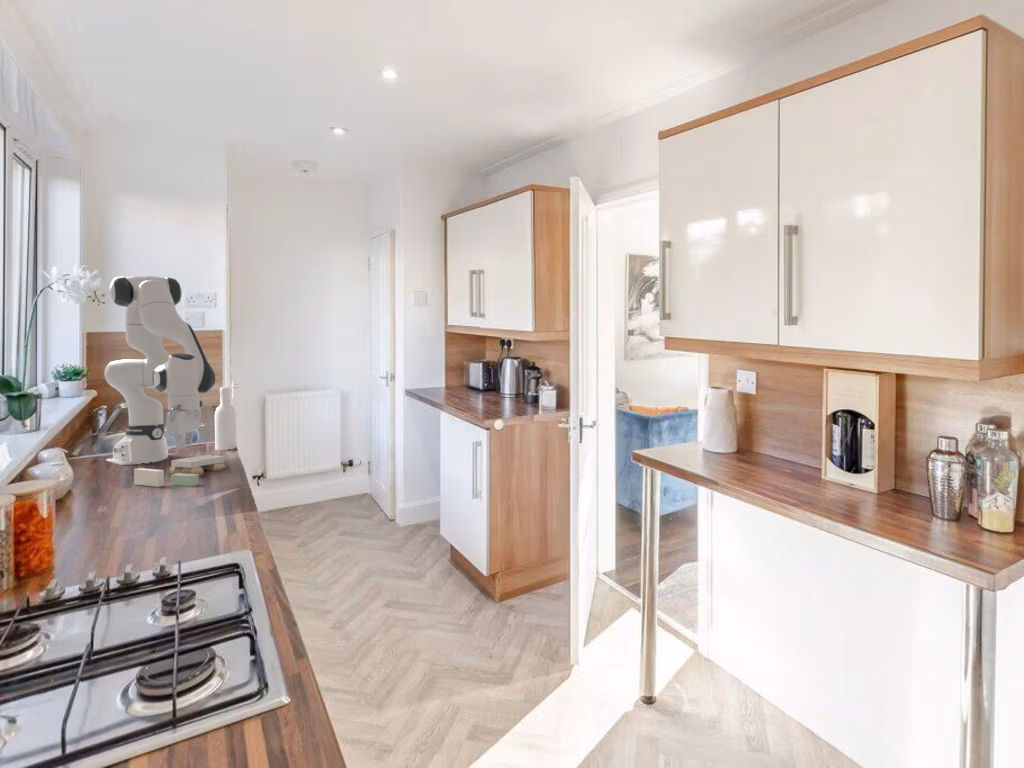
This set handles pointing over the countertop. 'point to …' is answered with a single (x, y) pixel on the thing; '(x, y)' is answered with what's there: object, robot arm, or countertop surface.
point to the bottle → (225, 422)
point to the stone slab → (197, 461)
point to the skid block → (184, 479)
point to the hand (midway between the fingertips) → (184, 446)
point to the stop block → (149, 477)
